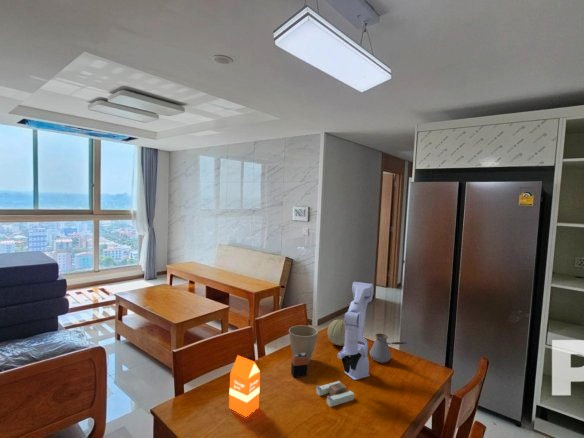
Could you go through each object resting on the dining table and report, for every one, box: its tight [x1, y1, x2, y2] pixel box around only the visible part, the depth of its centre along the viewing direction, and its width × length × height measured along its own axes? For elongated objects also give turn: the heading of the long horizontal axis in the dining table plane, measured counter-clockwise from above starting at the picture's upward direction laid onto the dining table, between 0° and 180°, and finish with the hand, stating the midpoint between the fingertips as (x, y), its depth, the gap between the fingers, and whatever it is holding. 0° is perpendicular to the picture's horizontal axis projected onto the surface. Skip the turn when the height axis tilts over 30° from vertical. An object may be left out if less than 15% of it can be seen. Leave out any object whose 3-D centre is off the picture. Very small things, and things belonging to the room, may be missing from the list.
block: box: [328, 381, 347, 396], centre depth 134 cm, size 6×4×4 cm, turn 120°
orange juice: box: [228, 354, 261, 418], centre depth 122 cm, size 8×9×20 cm
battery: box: [290, 353, 309, 378], centre depth 149 cm, size 4×7×10 cm, turn 108°
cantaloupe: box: [327, 317, 345, 347], centre depth 184 cm, size 15×15×15 cm
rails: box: [315, 380, 355, 408], centre depth 133 cm, size 12×10×3 cm
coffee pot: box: [368, 333, 409, 364], centre depth 164 cm, size 21×12×15 cm, turn 34°
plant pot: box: [288, 324, 319, 364], centre depth 162 cm, size 15×15×16 cm
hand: (349, 370), depth 137 cm, fingers open, 3 cm apart
